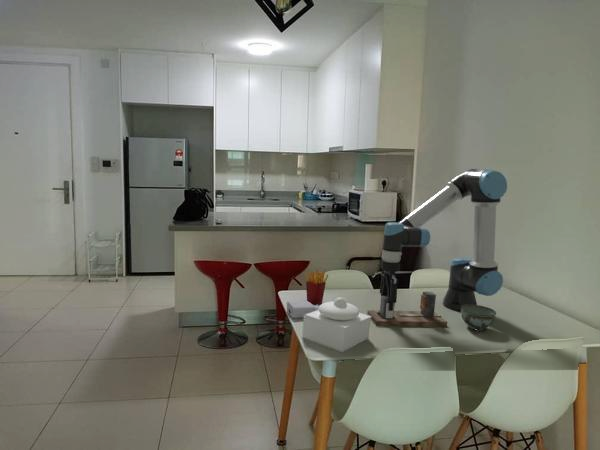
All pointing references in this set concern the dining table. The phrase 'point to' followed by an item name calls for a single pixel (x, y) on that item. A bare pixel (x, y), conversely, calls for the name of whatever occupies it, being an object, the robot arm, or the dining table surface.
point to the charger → (300, 308)
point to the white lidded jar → (336, 325)
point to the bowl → (477, 316)
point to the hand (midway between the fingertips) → (386, 314)
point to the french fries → (315, 287)
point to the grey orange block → (384, 307)
